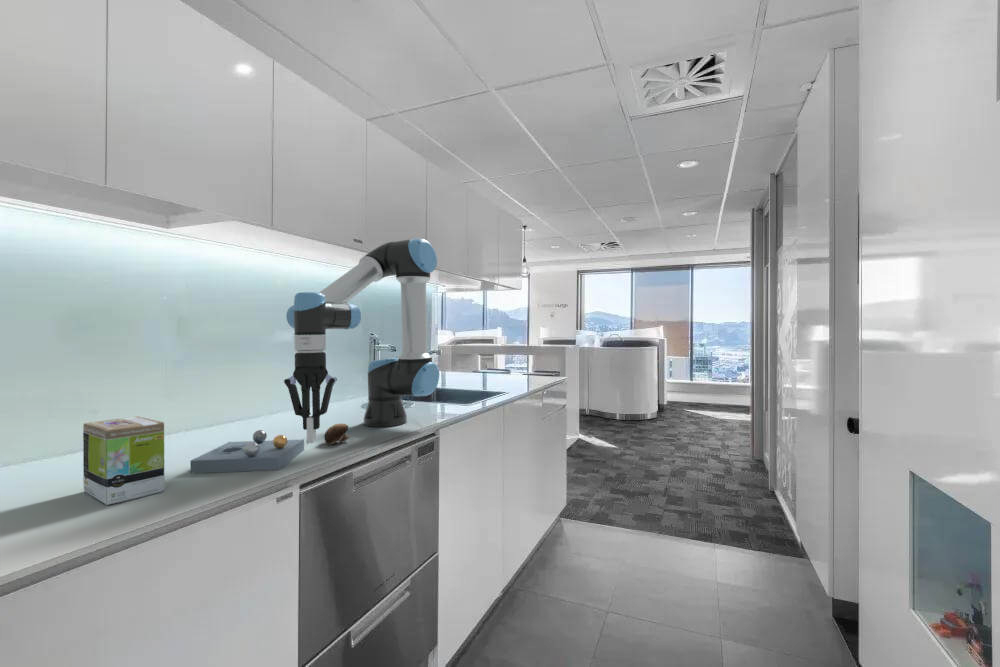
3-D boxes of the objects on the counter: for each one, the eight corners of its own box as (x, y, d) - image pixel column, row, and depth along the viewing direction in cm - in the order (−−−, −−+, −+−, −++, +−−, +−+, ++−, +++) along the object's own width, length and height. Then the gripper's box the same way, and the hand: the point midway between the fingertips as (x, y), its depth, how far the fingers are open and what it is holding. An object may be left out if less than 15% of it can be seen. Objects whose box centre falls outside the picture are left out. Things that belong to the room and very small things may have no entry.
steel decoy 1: (262, 454, 111) (262, 440, 111) (256, 457, 108) (255, 443, 108) (247, 454, 111) (247, 440, 111) (241, 458, 107) (241, 444, 107)
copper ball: (289, 446, 118) (289, 433, 118) (284, 449, 115) (284, 436, 115) (276, 446, 118) (275, 433, 118) (270, 450, 115) (270, 436, 115)
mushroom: (359, 429, 137) (346, 414, 135) (348, 445, 130) (334, 429, 128) (340, 440, 139) (327, 425, 137) (329, 456, 132) (314, 441, 130)
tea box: (167, 491, 94) (165, 421, 94) (105, 507, 86) (104, 430, 86) (140, 478, 103) (139, 414, 103) (81, 492, 94) (80, 422, 94)
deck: (304, 450, 126) (303, 439, 126) (278, 469, 108) (278, 457, 108) (229, 452, 124) (228, 441, 124) (190, 473, 106) (190, 460, 106)
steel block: (268, 440, 124) (268, 428, 124) (263, 443, 121) (263, 431, 121) (256, 441, 124) (255, 429, 124) (250, 444, 121) (250, 431, 121)
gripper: (278, 352, 113) (280, 446, 113) (332, 351, 114) (333, 444, 114) (289, 351, 120) (291, 439, 120) (339, 350, 121) (340, 437, 122)
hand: (311, 441), depth 117 cm, fingers closed
